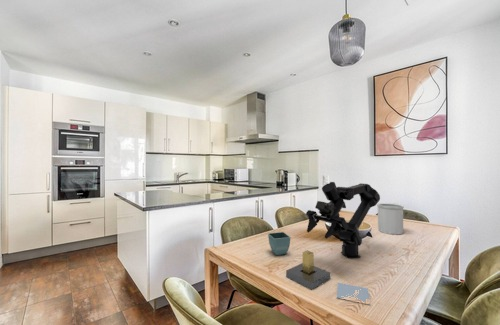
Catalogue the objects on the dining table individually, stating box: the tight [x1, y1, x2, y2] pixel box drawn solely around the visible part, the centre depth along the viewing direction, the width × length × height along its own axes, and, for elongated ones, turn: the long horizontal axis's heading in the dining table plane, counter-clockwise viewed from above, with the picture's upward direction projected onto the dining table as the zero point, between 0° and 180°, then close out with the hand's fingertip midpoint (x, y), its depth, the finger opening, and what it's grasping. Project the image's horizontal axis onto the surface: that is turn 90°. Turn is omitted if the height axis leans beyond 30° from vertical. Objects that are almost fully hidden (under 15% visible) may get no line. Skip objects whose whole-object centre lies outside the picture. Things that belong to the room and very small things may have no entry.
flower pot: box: [267, 231, 292, 256], centre depth 114 cm, size 9×9×9 cm
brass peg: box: [302, 250, 315, 275], centre depth 89 cm, size 3×3×10 cm
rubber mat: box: [336, 282, 371, 302], centre depth 79 cm, size 10×10×1 cm
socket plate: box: [285, 262, 331, 291], centre depth 89 cm, size 12×12×2 cm
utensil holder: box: [376, 202, 405, 236], centre depth 149 cm, size 15×15×18 cm
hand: (316, 234), depth 96 cm, fingers open, 9 cm apart
